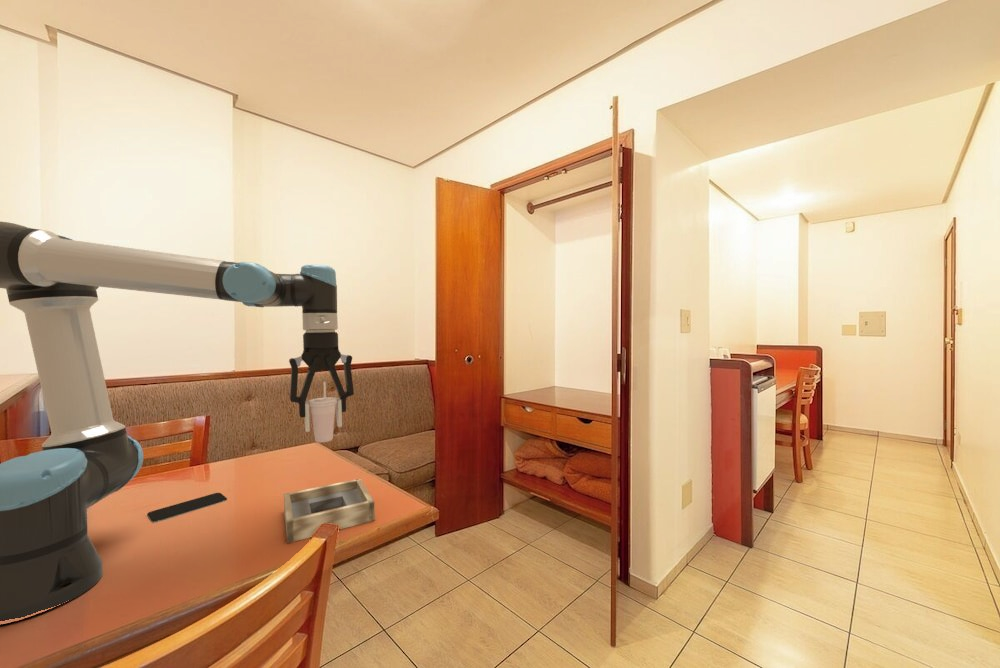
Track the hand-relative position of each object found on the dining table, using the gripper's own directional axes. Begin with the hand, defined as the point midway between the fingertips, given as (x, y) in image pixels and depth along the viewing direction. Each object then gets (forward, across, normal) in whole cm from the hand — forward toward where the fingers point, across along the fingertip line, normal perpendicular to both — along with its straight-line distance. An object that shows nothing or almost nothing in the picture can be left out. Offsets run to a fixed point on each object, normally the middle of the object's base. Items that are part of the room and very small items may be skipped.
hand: (323, 427), depth 91 cm
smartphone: (+22, -29, +25) cm, 44 cm away
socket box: (+22, 0, 0) cm, 22 cm away
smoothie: (+3, 0, 0) cm, 3 cm away
